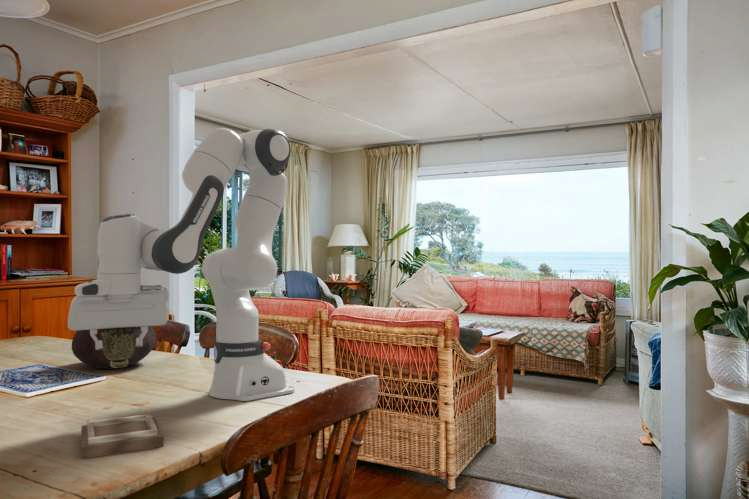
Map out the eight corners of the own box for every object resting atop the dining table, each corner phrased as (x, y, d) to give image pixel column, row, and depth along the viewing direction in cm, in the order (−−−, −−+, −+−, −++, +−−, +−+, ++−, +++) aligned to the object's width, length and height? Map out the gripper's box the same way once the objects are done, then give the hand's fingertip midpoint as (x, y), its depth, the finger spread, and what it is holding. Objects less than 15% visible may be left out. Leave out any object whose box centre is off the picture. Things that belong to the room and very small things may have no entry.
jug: (112, 356, 195) (113, 286, 195) (171, 361, 187) (172, 289, 188) (51, 370, 172) (53, 290, 172) (115, 376, 164) (117, 293, 164)
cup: (95, 366, 122) (95, 330, 122) (129, 361, 127) (129, 327, 127) (107, 372, 117) (107, 334, 117) (142, 366, 122) (142, 331, 122)
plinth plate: (154, 425, 118) (154, 412, 118) (163, 446, 106) (163, 431, 106) (81, 435, 112) (81, 420, 112) (81, 458, 99) (82, 442, 99)
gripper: (166, 283, 130) (166, 341, 130) (68, 286, 120) (68, 349, 120) (170, 285, 124) (170, 346, 124) (67, 288, 115) (67, 354, 115)
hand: (119, 347), depth 122 cm, fingers closed on cup, 7 cm apart
